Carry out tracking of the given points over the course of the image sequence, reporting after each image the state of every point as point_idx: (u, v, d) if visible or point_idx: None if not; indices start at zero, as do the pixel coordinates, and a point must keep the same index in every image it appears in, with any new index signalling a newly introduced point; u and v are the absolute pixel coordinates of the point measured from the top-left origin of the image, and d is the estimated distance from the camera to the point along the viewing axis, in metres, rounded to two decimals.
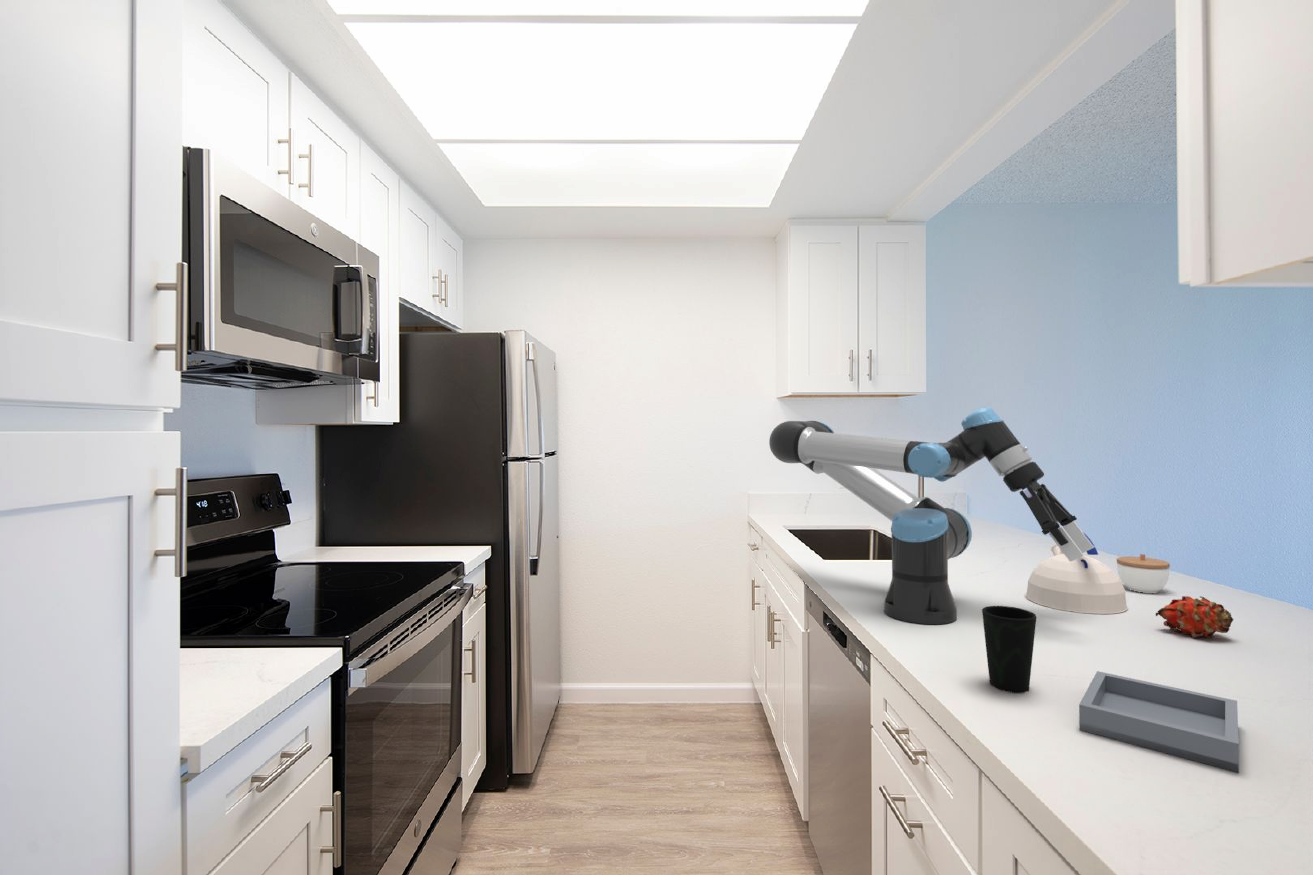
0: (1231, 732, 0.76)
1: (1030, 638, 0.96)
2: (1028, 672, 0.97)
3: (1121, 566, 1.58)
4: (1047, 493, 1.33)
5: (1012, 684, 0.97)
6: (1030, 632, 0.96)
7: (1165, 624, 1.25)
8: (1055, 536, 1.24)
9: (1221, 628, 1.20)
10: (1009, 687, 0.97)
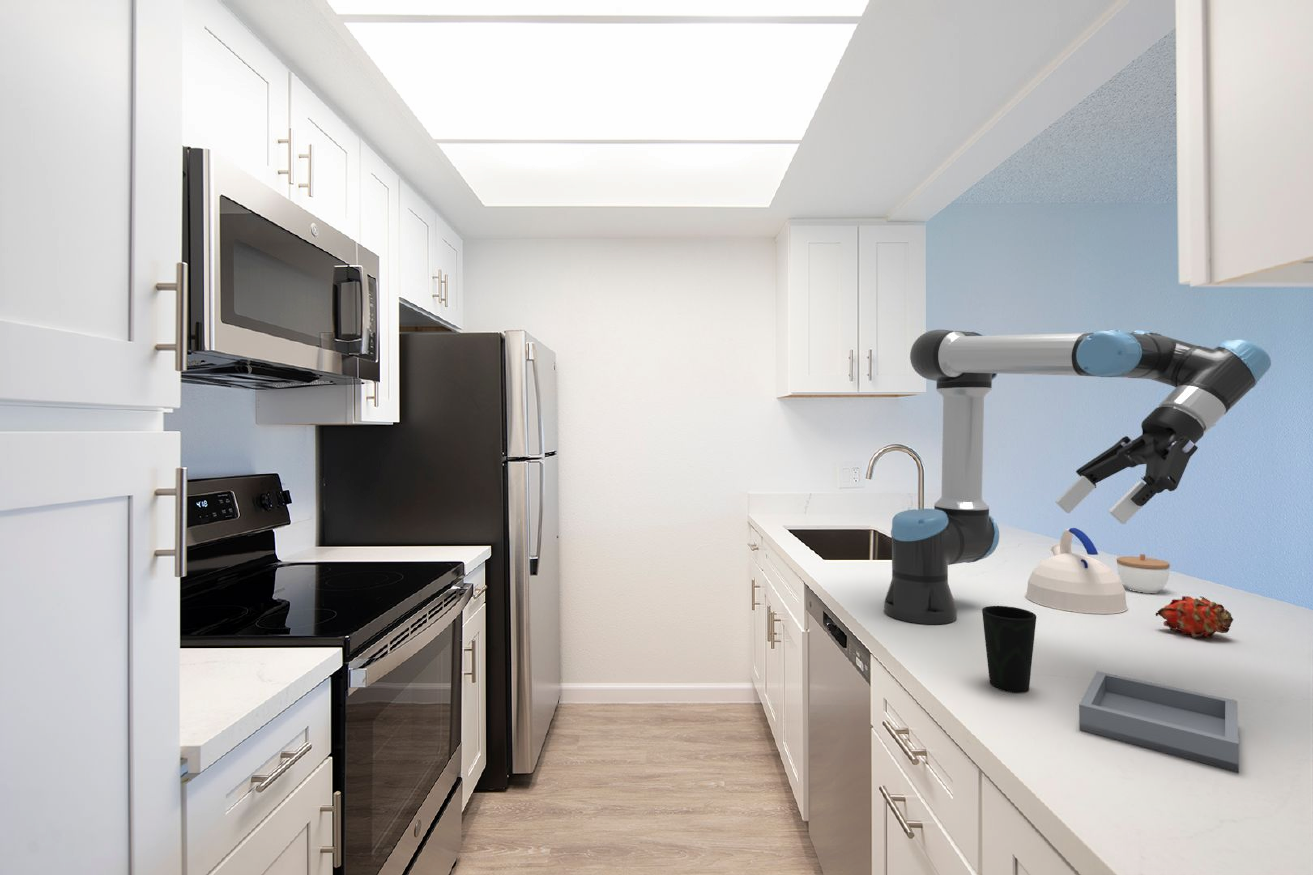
0: (1231, 732, 0.76)
1: (1030, 638, 0.96)
2: (1028, 672, 0.97)
3: (1121, 566, 1.58)
4: None
5: (1012, 684, 0.97)
6: (1030, 632, 0.96)
7: (1165, 624, 1.25)
8: (1147, 491, 0.92)
9: (1221, 628, 1.20)
10: (1009, 687, 0.97)
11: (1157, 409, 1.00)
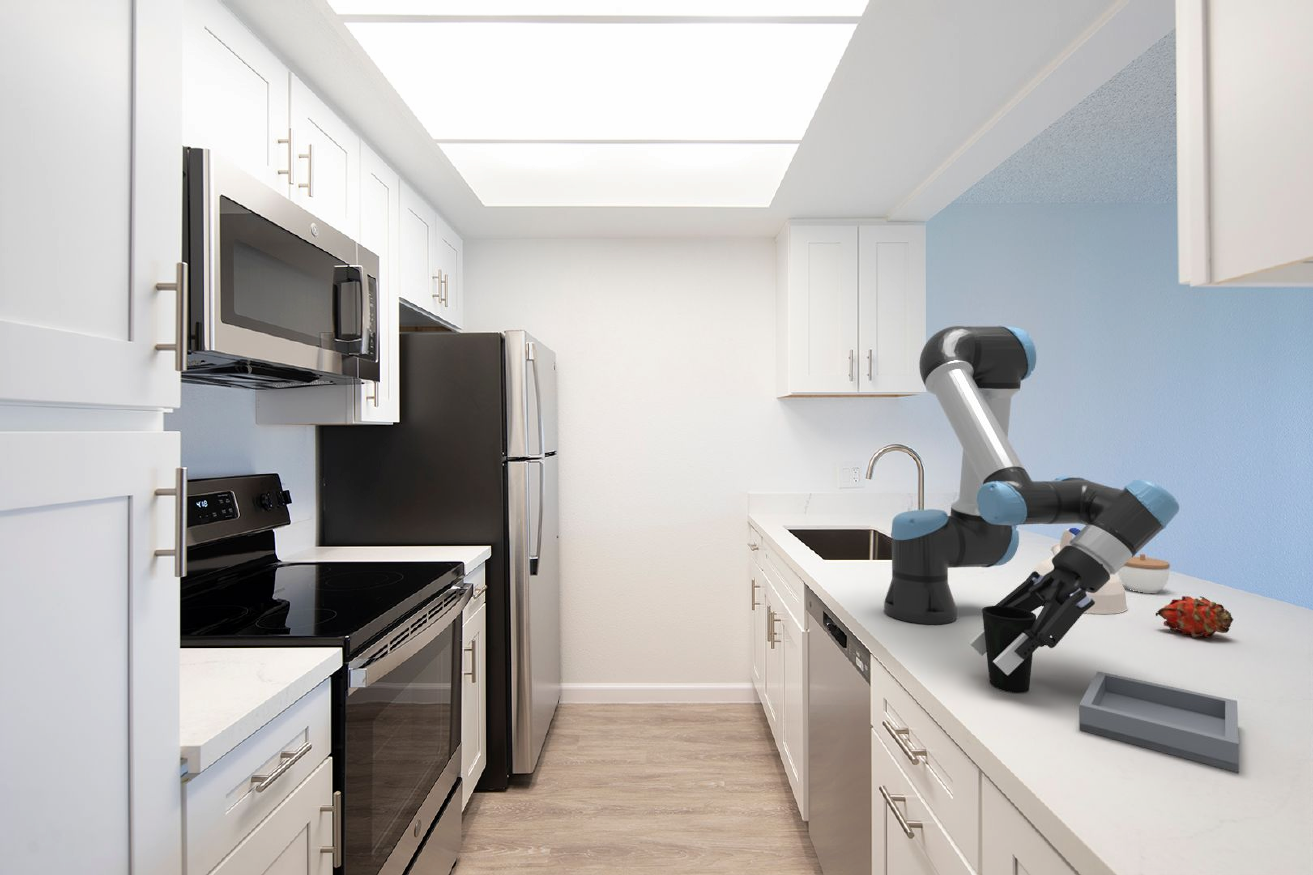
0: (1231, 732, 0.76)
1: None
2: (1028, 672, 0.97)
3: None
4: None
5: (1012, 684, 0.97)
6: None
7: (1165, 624, 1.25)
8: (1029, 645, 0.94)
9: (1221, 628, 1.20)
10: (1009, 687, 0.97)
11: (1066, 548, 0.99)
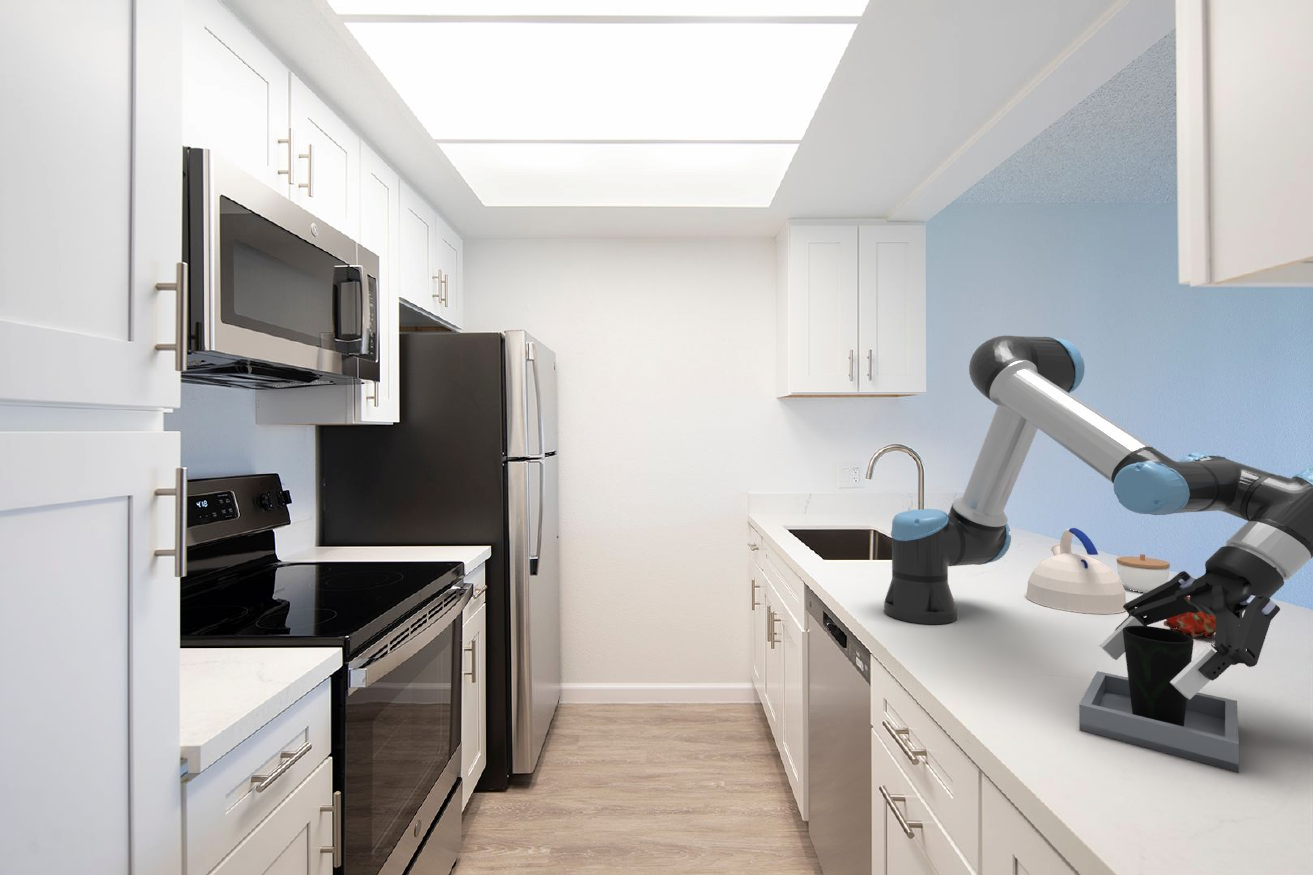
0: (1231, 732, 0.76)
1: None
2: (1185, 705, 0.83)
3: (1121, 566, 1.58)
4: None
5: (1166, 719, 0.82)
6: (1189, 658, 0.82)
7: (1165, 624, 1.25)
8: (1219, 663, 0.77)
9: None
10: None
11: (1226, 549, 0.85)
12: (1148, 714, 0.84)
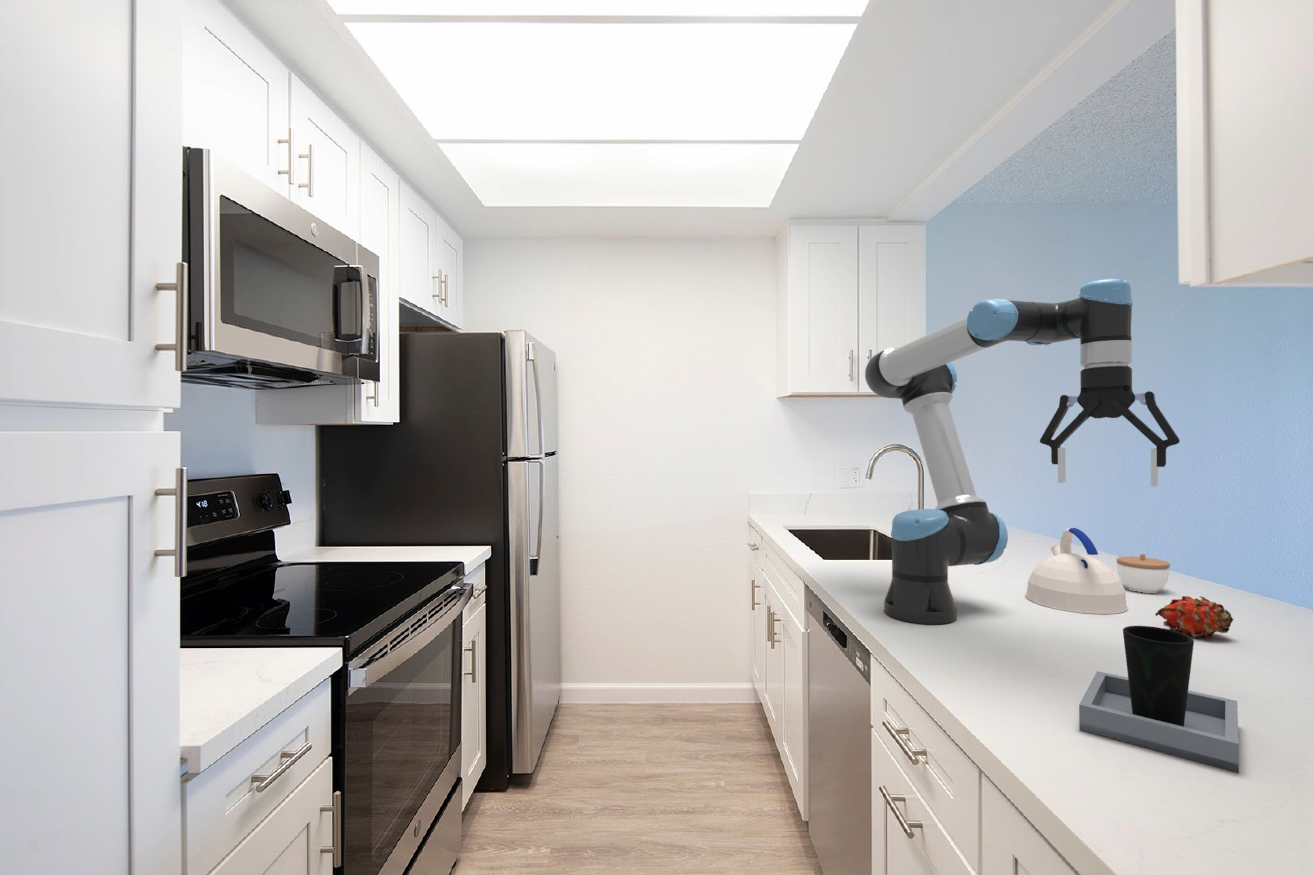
0: (1231, 732, 0.76)
1: (1188, 665, 0.82)
2: (1185, 705, 0.83)
3: (1121, 566, 1.58)
4: None
5: (1166, 719, 0.82)
6: (1189, 658, 0.82)
7: (1165, 624, 1.25)
8: (1165, 454, 1.05)
9: (1221, 628, 1.20)
10: None
11: (1100, 371, 1.08)
12: (1148, 714, 0.84)
